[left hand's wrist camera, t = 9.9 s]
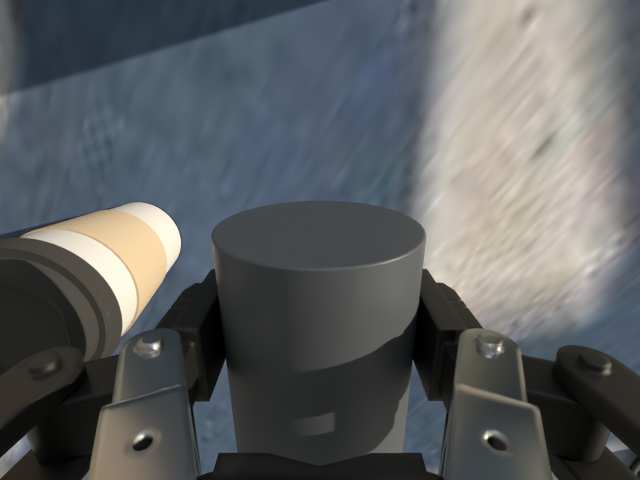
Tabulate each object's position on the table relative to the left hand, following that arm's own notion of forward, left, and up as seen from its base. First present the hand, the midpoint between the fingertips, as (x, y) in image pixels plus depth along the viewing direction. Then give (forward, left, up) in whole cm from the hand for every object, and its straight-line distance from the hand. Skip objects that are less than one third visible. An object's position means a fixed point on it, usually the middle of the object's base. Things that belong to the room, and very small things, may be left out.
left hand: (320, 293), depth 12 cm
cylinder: (-1, +9, -2) cm, 9 cm away
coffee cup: (+15, +7, -19) cm, 26 cm away
